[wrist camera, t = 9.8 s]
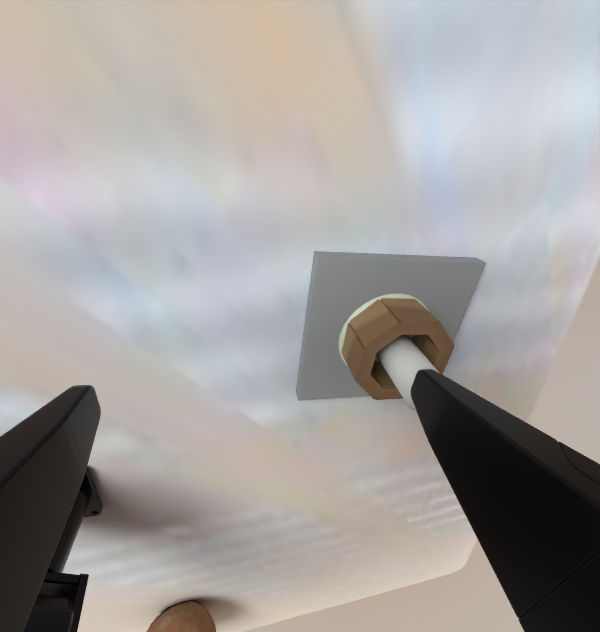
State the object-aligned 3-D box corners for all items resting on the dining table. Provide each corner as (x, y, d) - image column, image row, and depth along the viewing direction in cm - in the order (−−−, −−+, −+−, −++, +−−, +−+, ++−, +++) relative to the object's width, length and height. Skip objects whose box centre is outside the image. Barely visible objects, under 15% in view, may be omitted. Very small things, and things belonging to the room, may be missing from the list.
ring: (412, 369, 25) (432, 396, 23) (336, 372, 24) (349, 401, 21) (439, 299, 22) (465, 320, 20) (353, 297, 21) (370, 320, 18)
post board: (425, 384, 28) (476, 451, 22) (296, 391, 26) (315, 469, 20) (476, 257, 22) (564, 304, 16) (314, 251, 20) (349, 303, 14)
